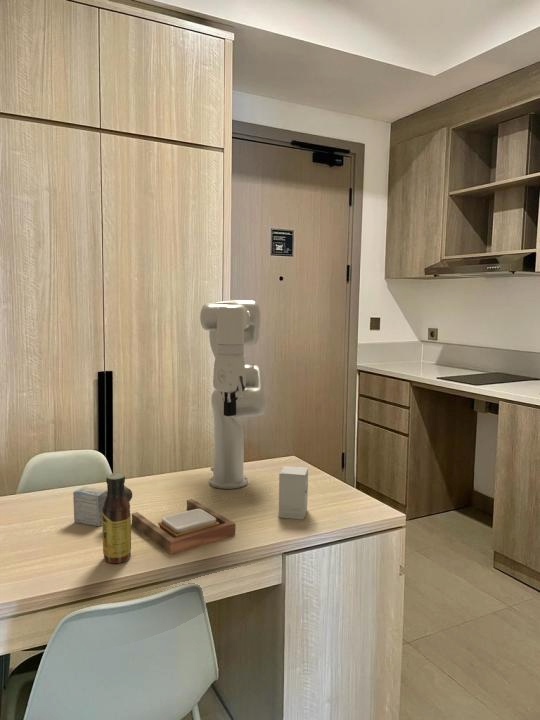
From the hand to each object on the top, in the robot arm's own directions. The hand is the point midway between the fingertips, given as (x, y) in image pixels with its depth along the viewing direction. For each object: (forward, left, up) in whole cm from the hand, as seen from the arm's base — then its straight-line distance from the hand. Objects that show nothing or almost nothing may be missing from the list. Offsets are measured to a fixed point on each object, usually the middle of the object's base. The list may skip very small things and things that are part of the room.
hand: (229, 415), depth 155 cm
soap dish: (+9, -19, -28) cm, 34 cm away
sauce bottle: (+10, -38, -27) cm, 48 cm away
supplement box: (+14, +12, -27) cm, 33 cm away
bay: (+3, -20, -27) cm, 34 cm away
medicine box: (-14, -35, -27) cm, 47 cm away
